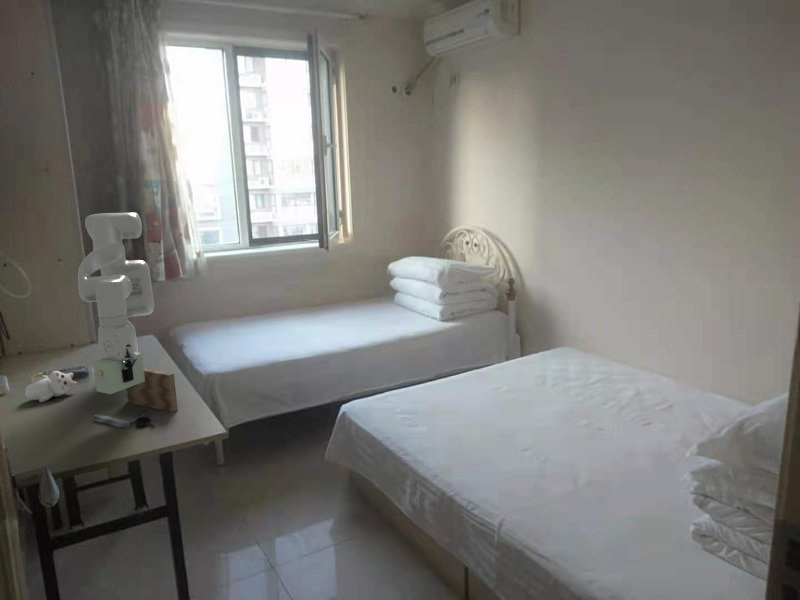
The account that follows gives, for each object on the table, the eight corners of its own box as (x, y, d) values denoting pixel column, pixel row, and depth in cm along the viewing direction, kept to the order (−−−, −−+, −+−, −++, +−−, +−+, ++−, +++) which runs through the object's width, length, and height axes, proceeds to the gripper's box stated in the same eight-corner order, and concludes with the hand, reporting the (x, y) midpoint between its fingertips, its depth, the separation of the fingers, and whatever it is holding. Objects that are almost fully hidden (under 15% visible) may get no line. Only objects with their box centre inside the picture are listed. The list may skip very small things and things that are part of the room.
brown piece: (87, 418, 177) (82, 381, 174) (133, 400, 191) (129, 365, 189) (133, 430, 168) (128, 390, 165) (177, 409, 182) (173, 373, 180)
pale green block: (93, 392, 170) (89, 362, 168) (131, 378, 181) (128, 351, 180) (107, 395, 167) (103, 365, 165) (145, 381, 179) (141, 353, 177)
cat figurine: (19, 376, 188) (70, 361, 197) (19, 383, 194) (69, 368, 203) (30, 403, 186) (80, 387, 196) (29, 409, 193) (78, 393, 202)
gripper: (82, 321, 171) (90, 380, 175) (122, 326, 164) (130, 387, 167) (105, 316, 178) (112, 372, 181) (144, 320, 170) (151, 379, 174)
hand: (120, 379), depth 174 cm, fingers closed on pale green block, 6 cm apart
